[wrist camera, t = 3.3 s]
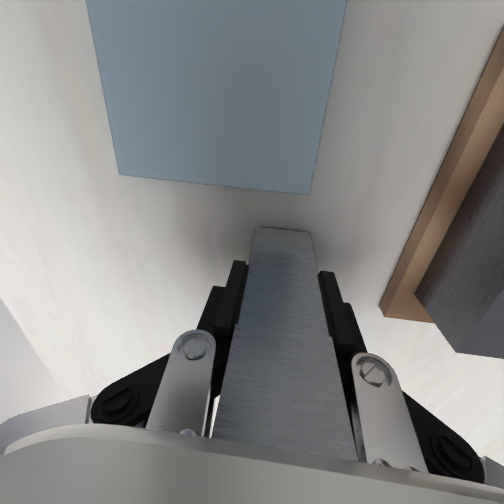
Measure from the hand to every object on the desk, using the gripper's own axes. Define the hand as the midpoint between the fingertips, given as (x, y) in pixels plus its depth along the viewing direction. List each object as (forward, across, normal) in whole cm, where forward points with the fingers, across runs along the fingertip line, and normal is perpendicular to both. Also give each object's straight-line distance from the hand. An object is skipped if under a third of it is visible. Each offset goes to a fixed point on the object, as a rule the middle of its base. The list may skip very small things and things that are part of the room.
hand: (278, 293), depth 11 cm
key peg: (+4, 0, 0) cm, 4 cm away
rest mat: (+4, +4, -9) cm, 10 cm away
